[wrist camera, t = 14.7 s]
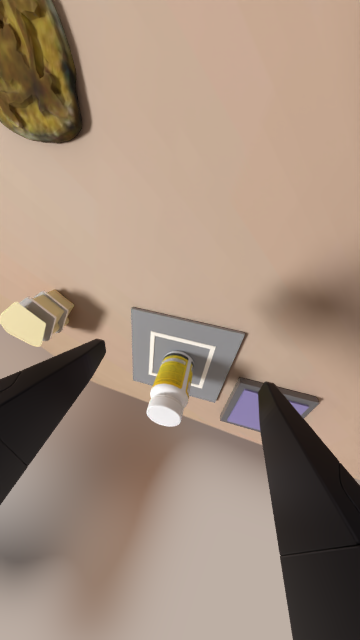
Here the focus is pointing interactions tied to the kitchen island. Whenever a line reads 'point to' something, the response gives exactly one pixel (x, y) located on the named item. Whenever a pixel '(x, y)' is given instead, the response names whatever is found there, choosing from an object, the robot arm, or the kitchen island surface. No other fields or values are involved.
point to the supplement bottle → (171, 389)
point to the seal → (36, 73)
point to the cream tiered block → (37, 317)
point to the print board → (183, 349)
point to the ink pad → (246, 408)
